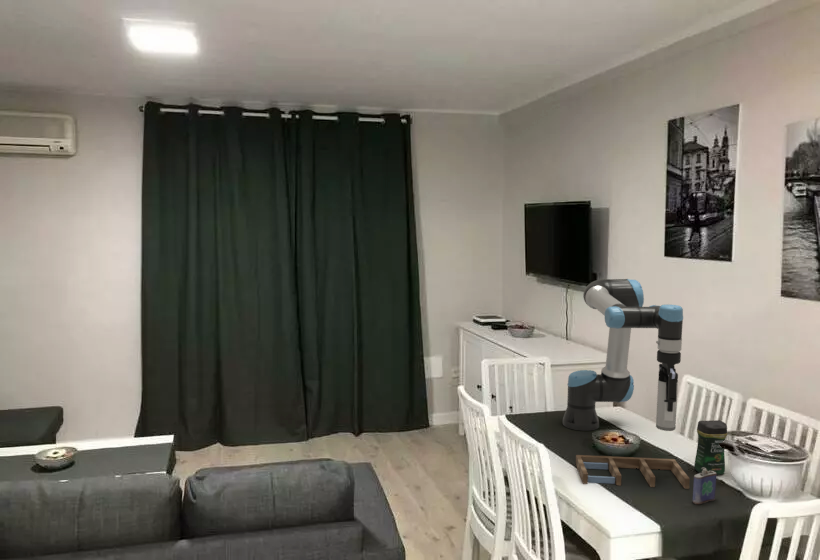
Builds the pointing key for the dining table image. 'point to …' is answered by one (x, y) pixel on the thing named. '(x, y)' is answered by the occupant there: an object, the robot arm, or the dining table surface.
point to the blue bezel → (598, 478)
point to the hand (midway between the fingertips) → (665, 416)
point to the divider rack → (633, 462)
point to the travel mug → (661, 397)
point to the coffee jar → (710, 446)
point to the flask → (704, 486)
